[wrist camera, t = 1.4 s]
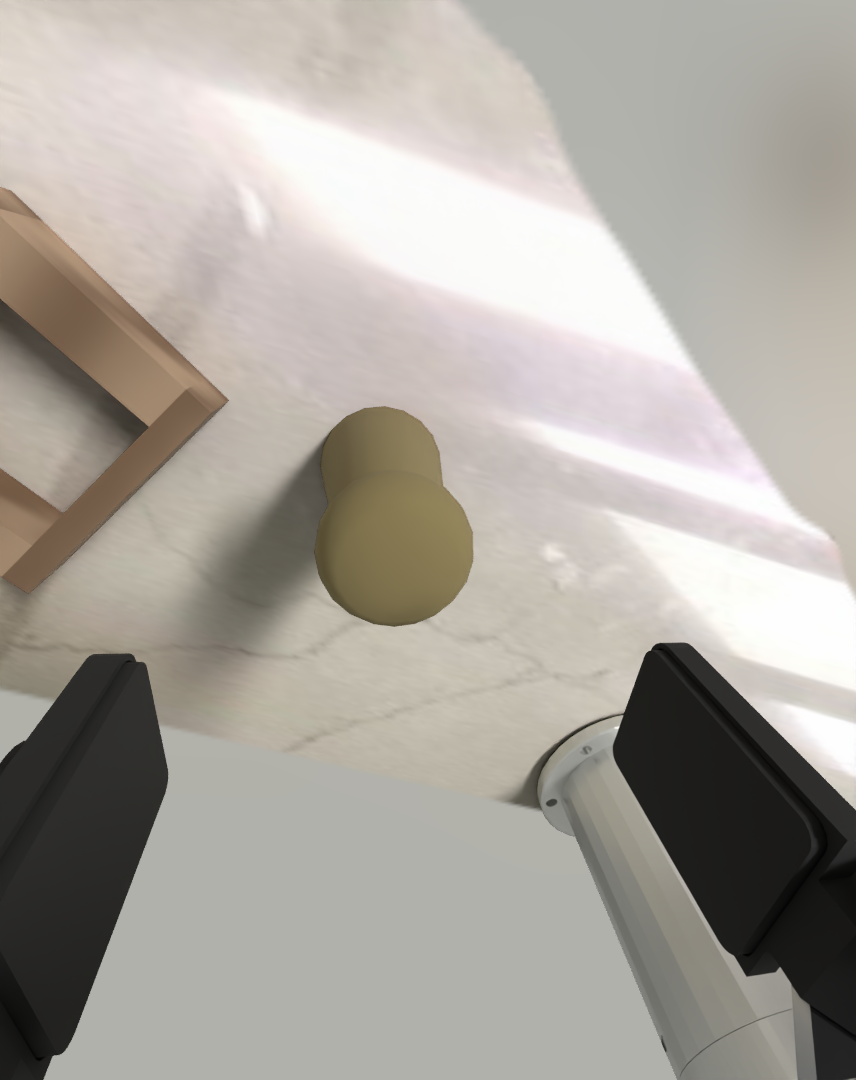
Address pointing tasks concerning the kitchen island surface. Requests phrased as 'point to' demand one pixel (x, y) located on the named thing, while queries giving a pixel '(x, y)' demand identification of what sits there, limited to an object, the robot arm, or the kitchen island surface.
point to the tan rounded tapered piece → (389, 521)
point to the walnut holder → (112, 361)
